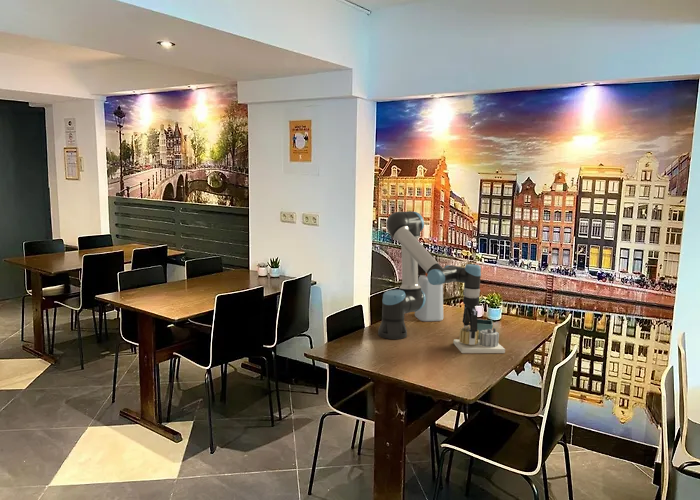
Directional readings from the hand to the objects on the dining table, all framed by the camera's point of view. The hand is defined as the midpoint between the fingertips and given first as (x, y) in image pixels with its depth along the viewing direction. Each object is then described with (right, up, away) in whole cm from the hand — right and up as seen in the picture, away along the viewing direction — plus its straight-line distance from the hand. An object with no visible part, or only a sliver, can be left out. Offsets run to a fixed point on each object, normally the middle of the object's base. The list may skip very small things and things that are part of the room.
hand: (468, 341), depth 256 cm
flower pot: (+11, -2, +17) cm, 21 cm away
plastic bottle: (-12, +4, +54) cm, 56 cm away
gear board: (+5, -3, +1) cm, 6 cm away
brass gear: (0, 0, 0) cm, 0 cm away
